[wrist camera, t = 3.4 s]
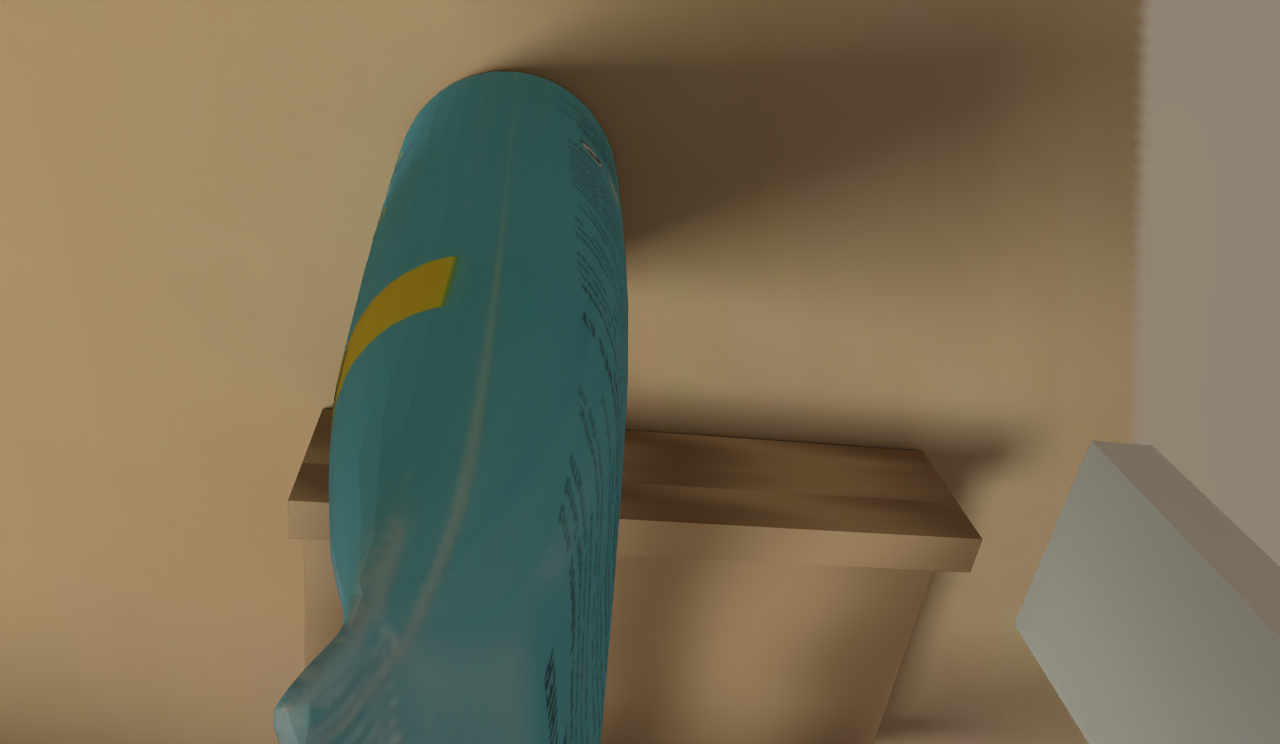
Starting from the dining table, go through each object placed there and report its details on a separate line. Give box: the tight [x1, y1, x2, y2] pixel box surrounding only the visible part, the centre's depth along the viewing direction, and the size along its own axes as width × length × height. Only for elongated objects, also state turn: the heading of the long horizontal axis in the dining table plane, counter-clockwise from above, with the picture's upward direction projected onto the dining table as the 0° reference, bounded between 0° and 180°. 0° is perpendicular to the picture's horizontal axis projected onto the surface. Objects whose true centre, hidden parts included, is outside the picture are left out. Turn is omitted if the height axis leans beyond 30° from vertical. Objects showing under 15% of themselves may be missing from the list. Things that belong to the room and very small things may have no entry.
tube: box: [274, 71, 628, 744], centre depth 14 cm, size 7×5×19 cm, turn 6°
